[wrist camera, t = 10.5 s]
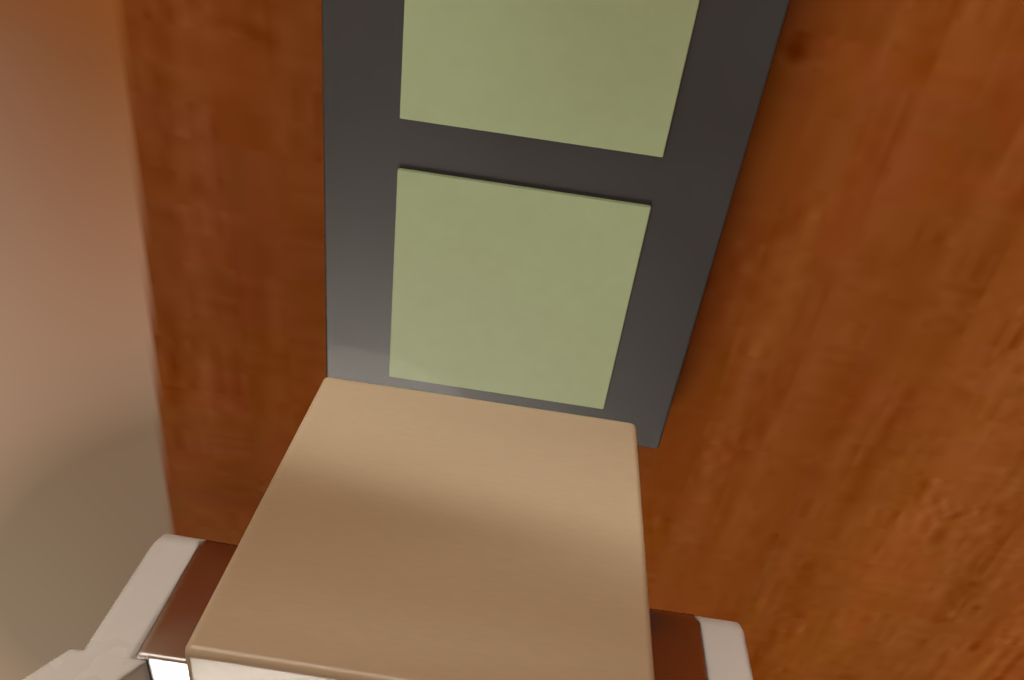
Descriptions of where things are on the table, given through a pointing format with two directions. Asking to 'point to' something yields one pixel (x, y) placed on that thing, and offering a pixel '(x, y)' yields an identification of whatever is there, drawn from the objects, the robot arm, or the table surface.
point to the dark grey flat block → (532, 192)
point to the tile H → (437, 548)
